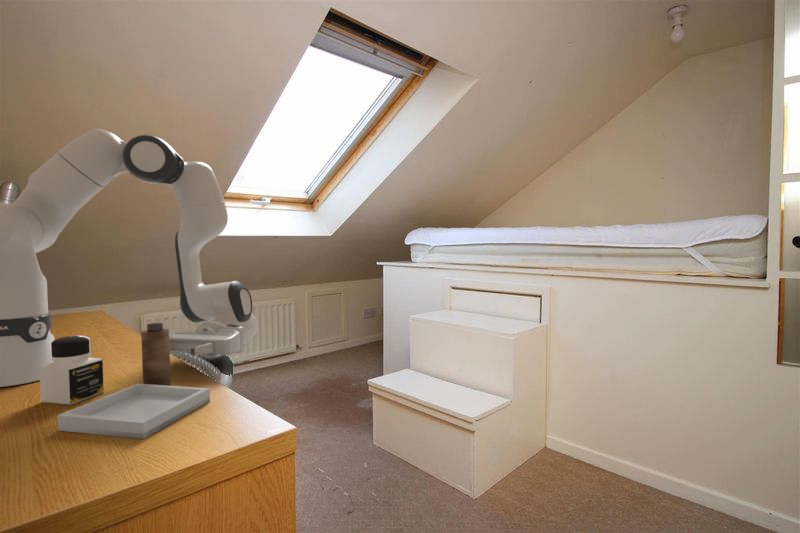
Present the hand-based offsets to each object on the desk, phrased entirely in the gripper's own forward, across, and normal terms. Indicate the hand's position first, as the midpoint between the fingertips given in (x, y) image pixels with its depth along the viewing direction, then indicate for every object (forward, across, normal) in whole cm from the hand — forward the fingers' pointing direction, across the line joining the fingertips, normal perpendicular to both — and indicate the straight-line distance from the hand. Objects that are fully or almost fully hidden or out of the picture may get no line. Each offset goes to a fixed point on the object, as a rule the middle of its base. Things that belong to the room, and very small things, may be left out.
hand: (174, 350), depth 93 cm
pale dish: (+18, +8, +6) cm, 21 cm away
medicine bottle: (+14, -12, +7) cm, 19 cm away
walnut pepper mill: (+6, 0, +6) cm, 9 cm away
